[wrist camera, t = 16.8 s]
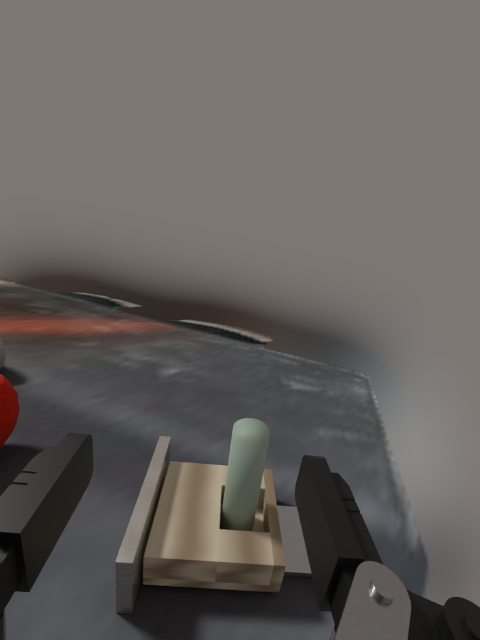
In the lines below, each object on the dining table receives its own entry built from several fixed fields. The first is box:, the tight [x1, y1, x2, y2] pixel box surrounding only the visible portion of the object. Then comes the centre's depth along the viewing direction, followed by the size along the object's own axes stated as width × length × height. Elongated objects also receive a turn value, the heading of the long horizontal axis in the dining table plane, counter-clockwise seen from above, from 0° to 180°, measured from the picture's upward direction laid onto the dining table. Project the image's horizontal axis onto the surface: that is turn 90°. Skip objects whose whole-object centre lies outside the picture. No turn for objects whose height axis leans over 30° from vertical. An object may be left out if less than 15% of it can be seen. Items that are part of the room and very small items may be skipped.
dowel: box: [220, 418, 270, 531], centre depth 33 cm, size 4×4×14 cm
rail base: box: [115, 436, 312, 614], centre depth 35 cm, size 25×16×7 cm, turn 91°
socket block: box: [143, 461, 286, 592], centre depth 35 cm, size 14×12×4 cm
